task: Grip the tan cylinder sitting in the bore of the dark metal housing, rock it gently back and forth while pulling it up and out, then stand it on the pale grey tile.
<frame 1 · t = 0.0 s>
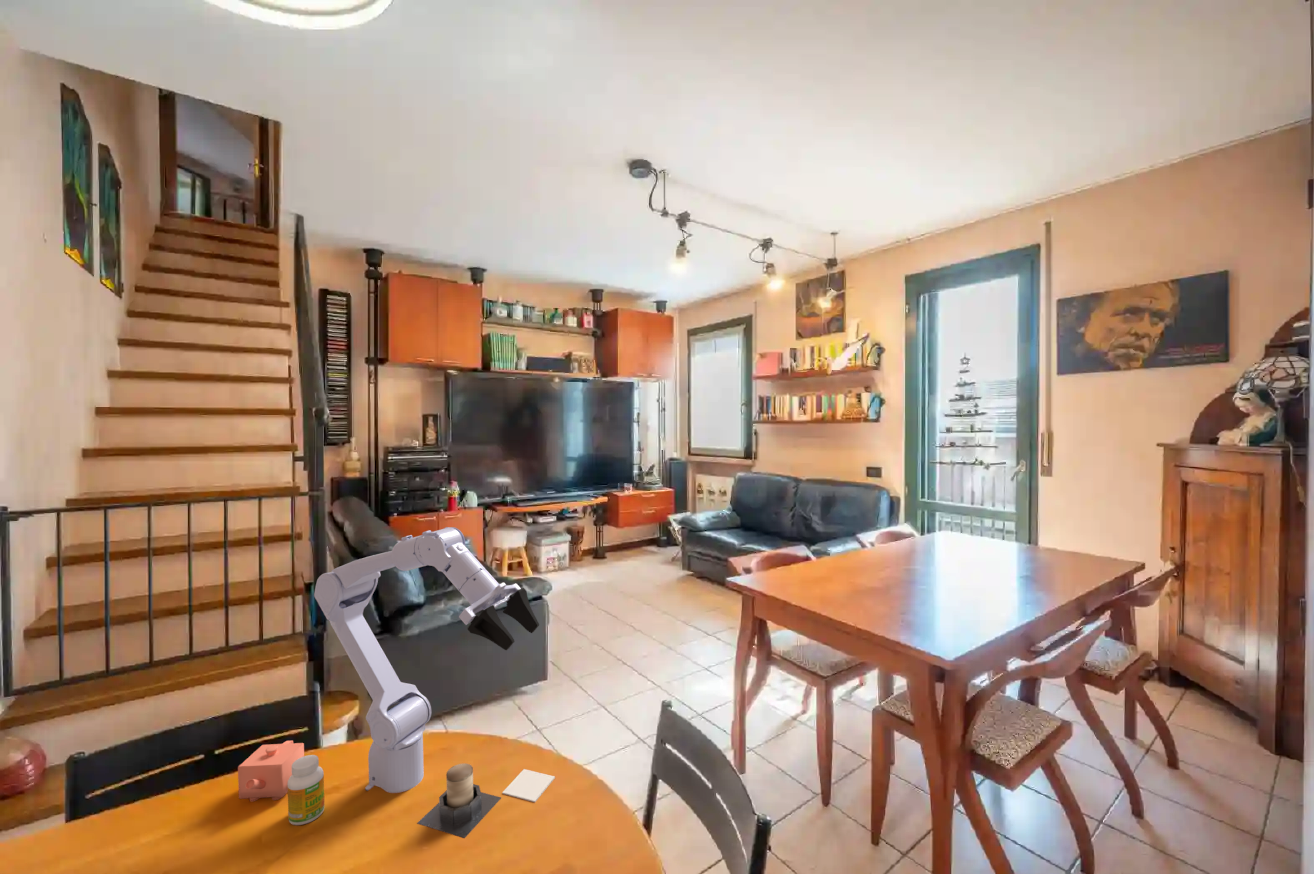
hand: (523, 637, 93), 32 cm above the table, tool tilted 50°, fingers open, 7 cm apart
housing: (460, 814, 95), on the table
piggy bank: (271, 793, 101), on the table
tan cylinder: (460, 809, 95), point 1 cm above the table, touching housing
tile pad: (529, 789, 101), on the table
supplement bottle: (306, 815, 95), on the table
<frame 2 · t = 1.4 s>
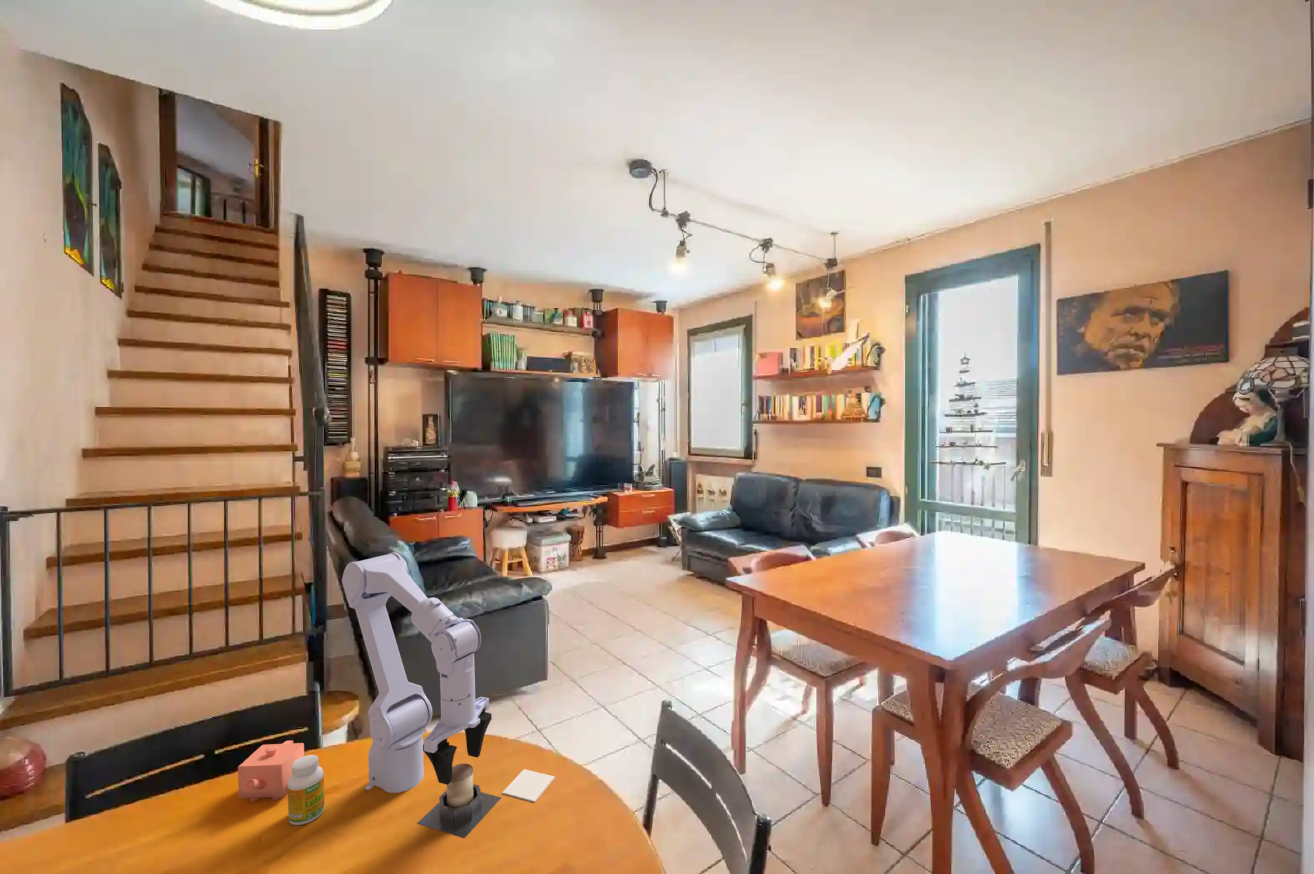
hand: (459, 768, 95), 8 cm above the table, tool pointing down, fingers open, 7 cm apart
nothing on the table moved.
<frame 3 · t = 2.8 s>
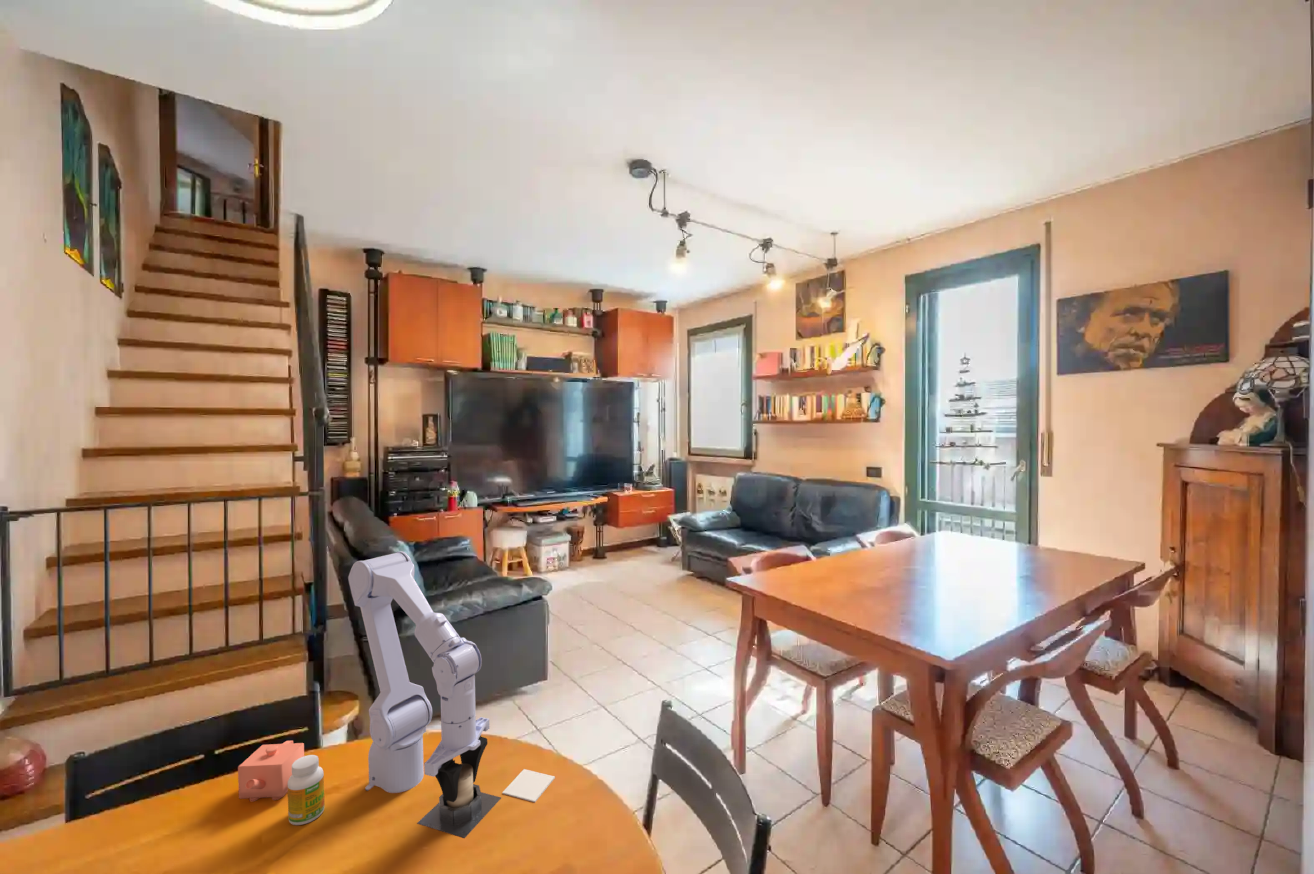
hand: (460, 790, 95), 4 cm above the table, tool pointing down, fingers closed on tan cylinder, 4 cm apart
tan cylinder: (460, 809, 95), point 1 cm above the table, touching gripper, housing
everything else where it was.
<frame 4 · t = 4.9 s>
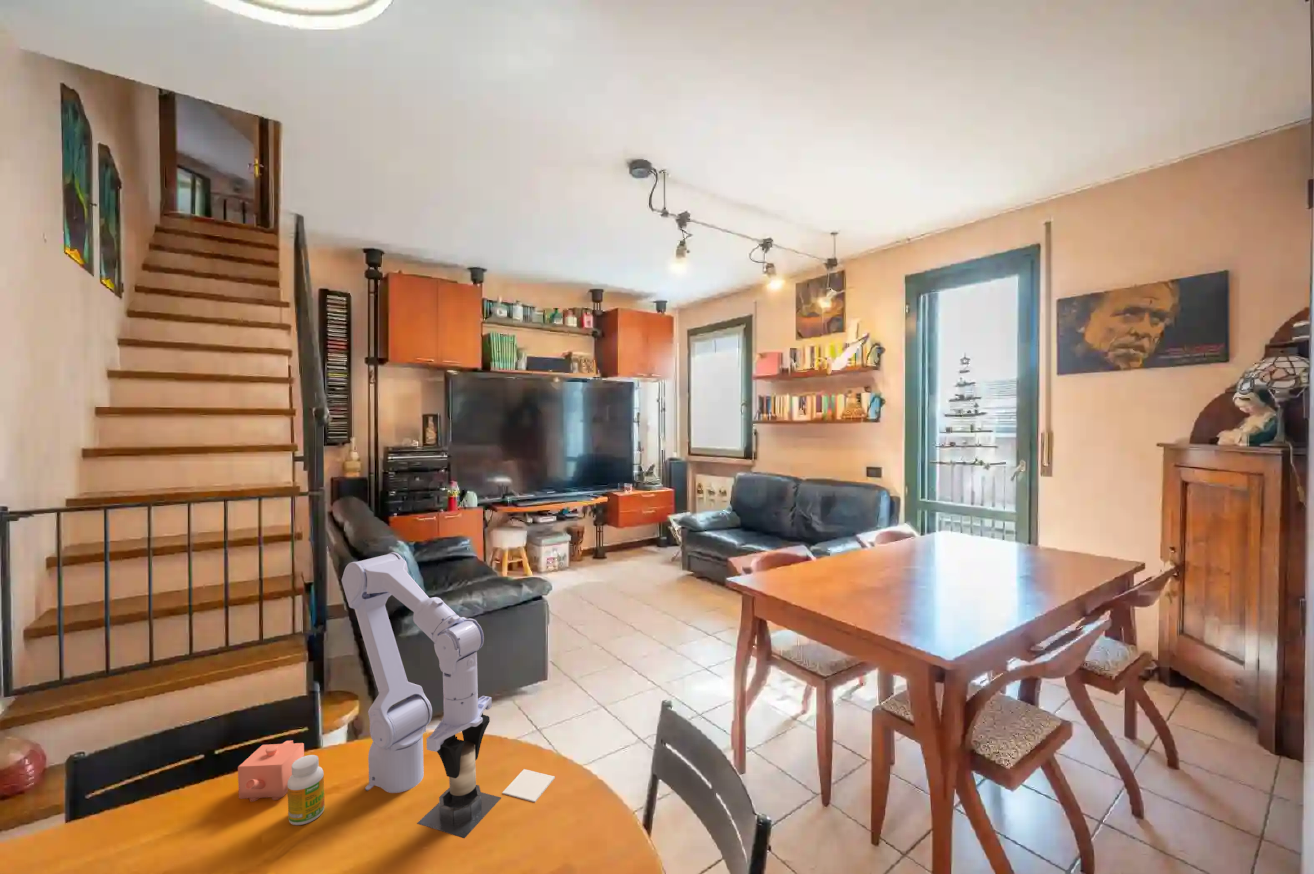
hand: (462, 767, 95), 8 cm above the table, tool pointing down, fingers closed on tan cylinder, 4 cm apart
tan cylinder: (462, 786, 95), point 5 cm above the table, touching gripper
everything else where it was.
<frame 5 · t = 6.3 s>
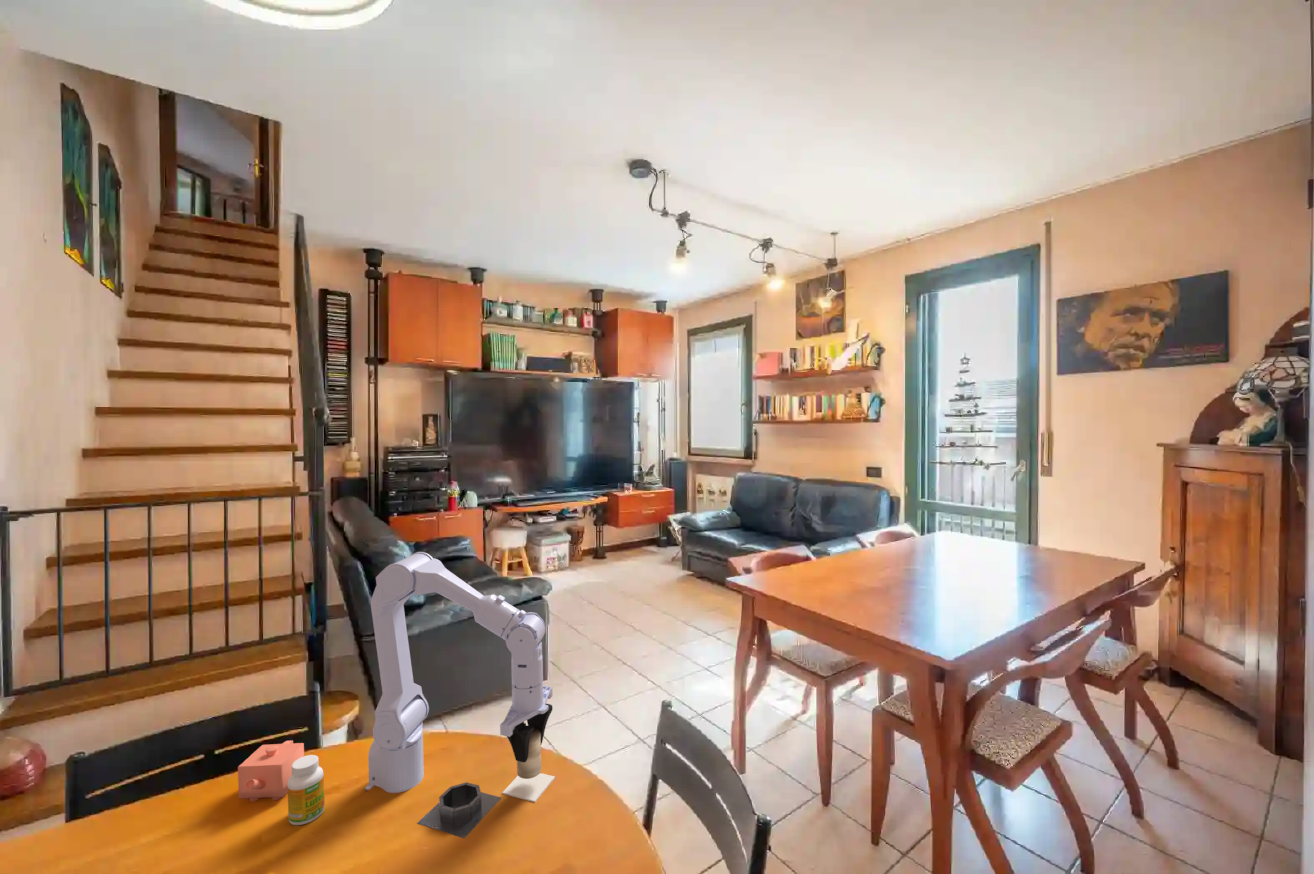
hand: (528, 752, 101), 7 cm above the table, tool pointing down, fingers closed on tan cylinder, 4 cm apart
tan cylinder: (529, 770, 101), point 4 cm above the table, touching gripper
everything else where it was.
when the fingers open (6 cm above the table, at t = 7.3 s): tan cylinder drops 2 cm, resting on tile pad.
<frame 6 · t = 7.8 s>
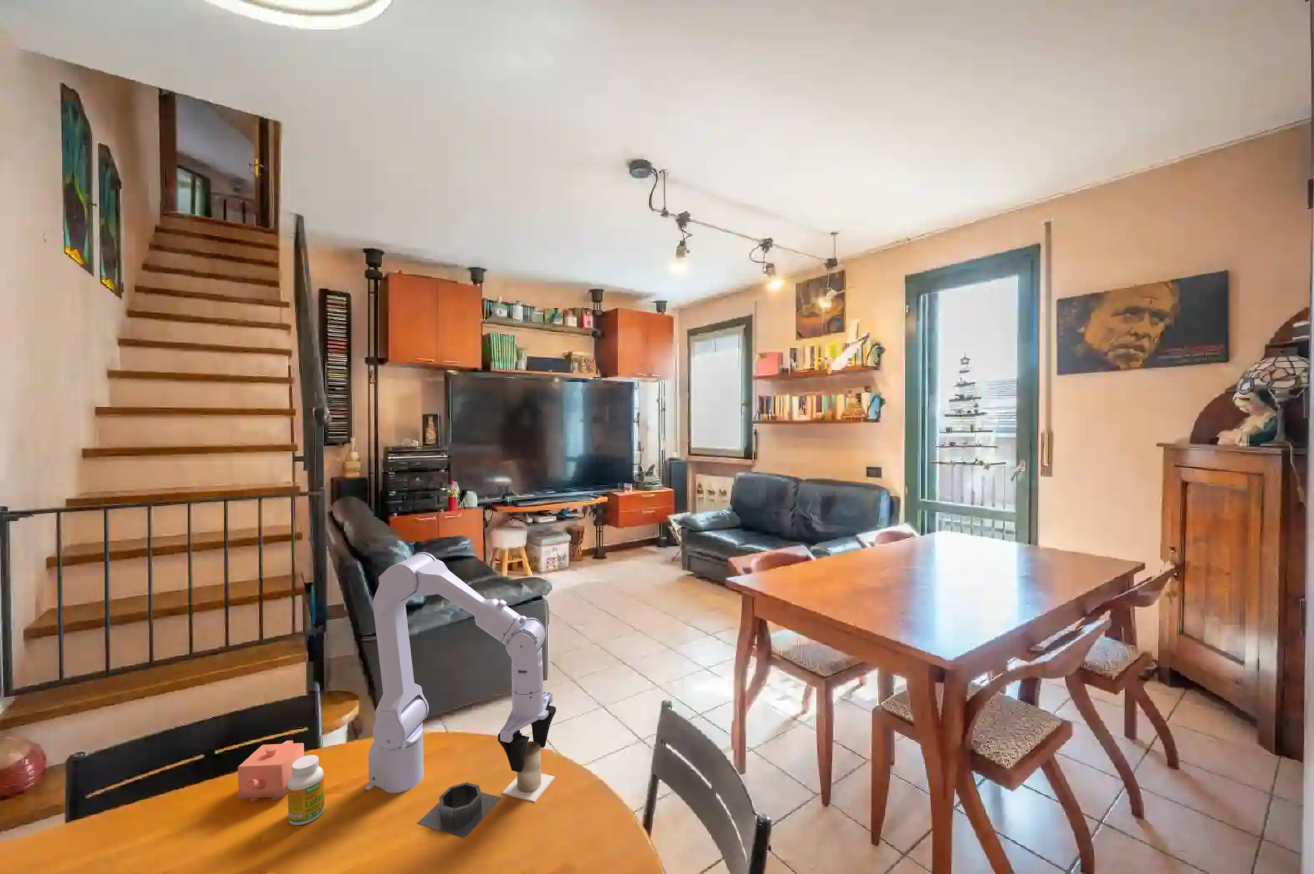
hand: (528, 757, 101), 6 cm above the table, tool pointing down, fingers open, 7 cm apart
tan cylinder: (529, 784, 101), point 1 cm above the table, touching tile pad
everything else where it was.
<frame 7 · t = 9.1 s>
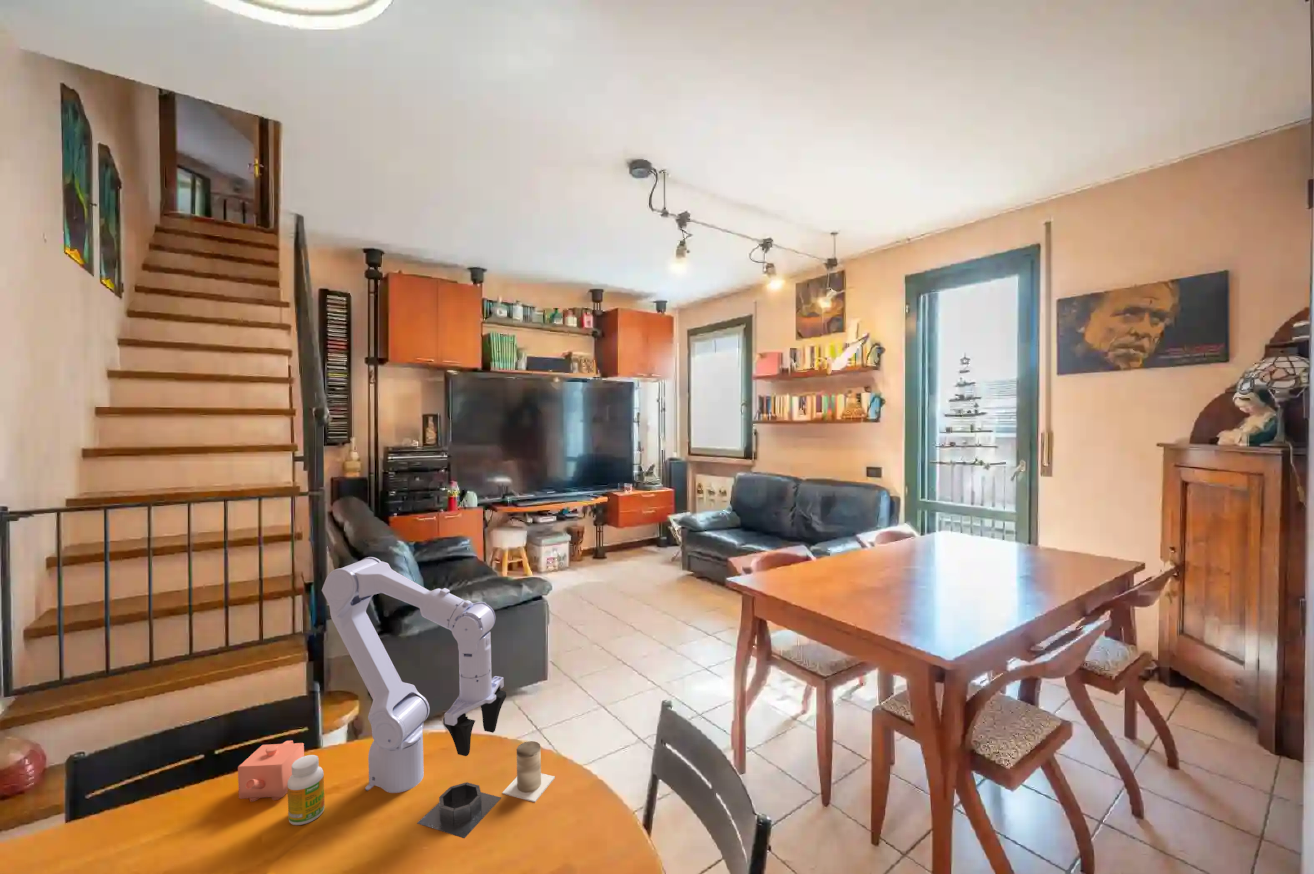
hand: (476, 742, 101), 9 cm above the table, tool pointing down, fingers open, 7 cm apart
nothing on the table moved.
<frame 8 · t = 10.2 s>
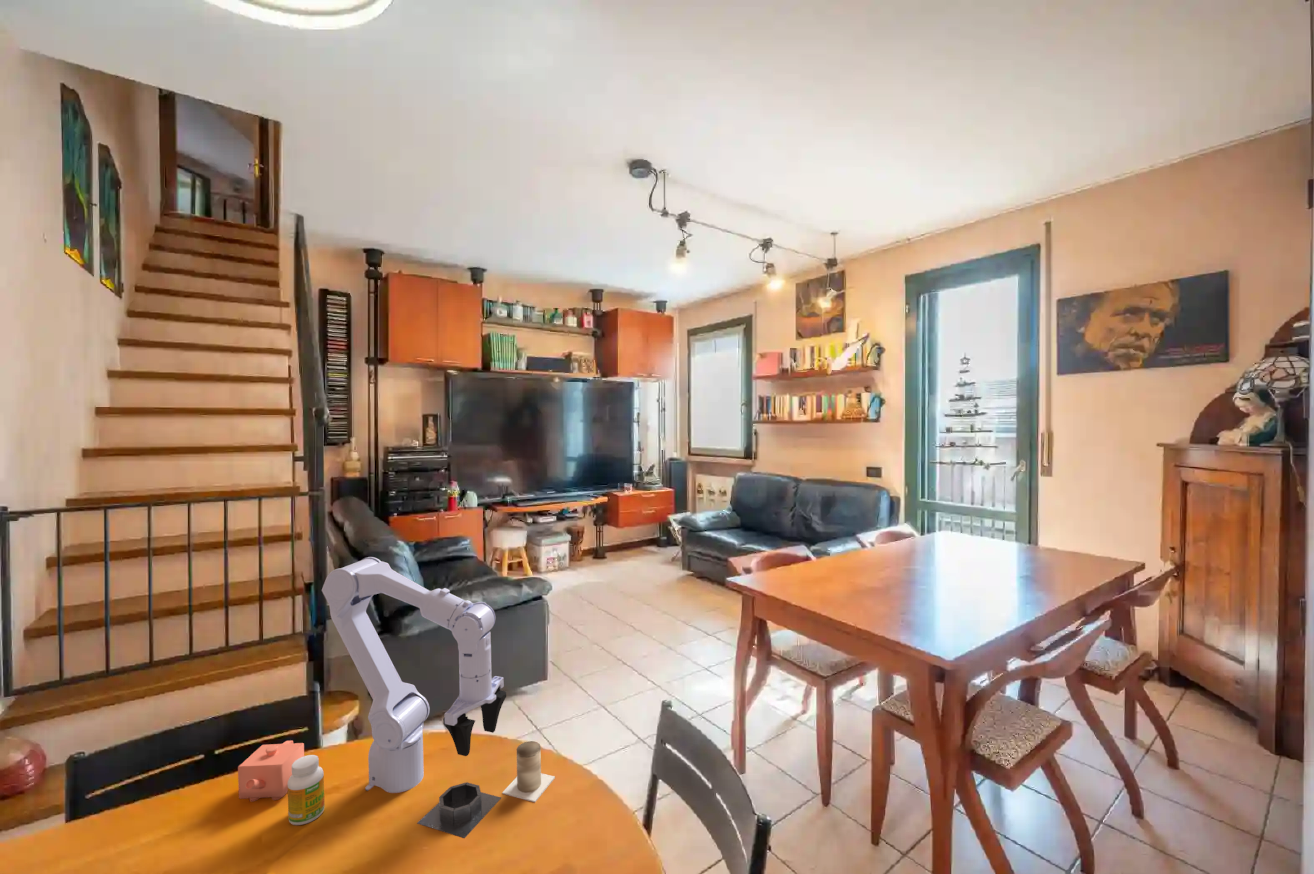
hand: (476, 742, 101), 9 cm above the table, tool pointing down, fingers open, 7 cm apart
nothing on the table moved.
at the end: tan cylinder 0.0 cm off-centre on the tile pad, point 1.0 cm above the tile pad's base; tan cylinder tilted 0°; the gripper is holding nothing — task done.
